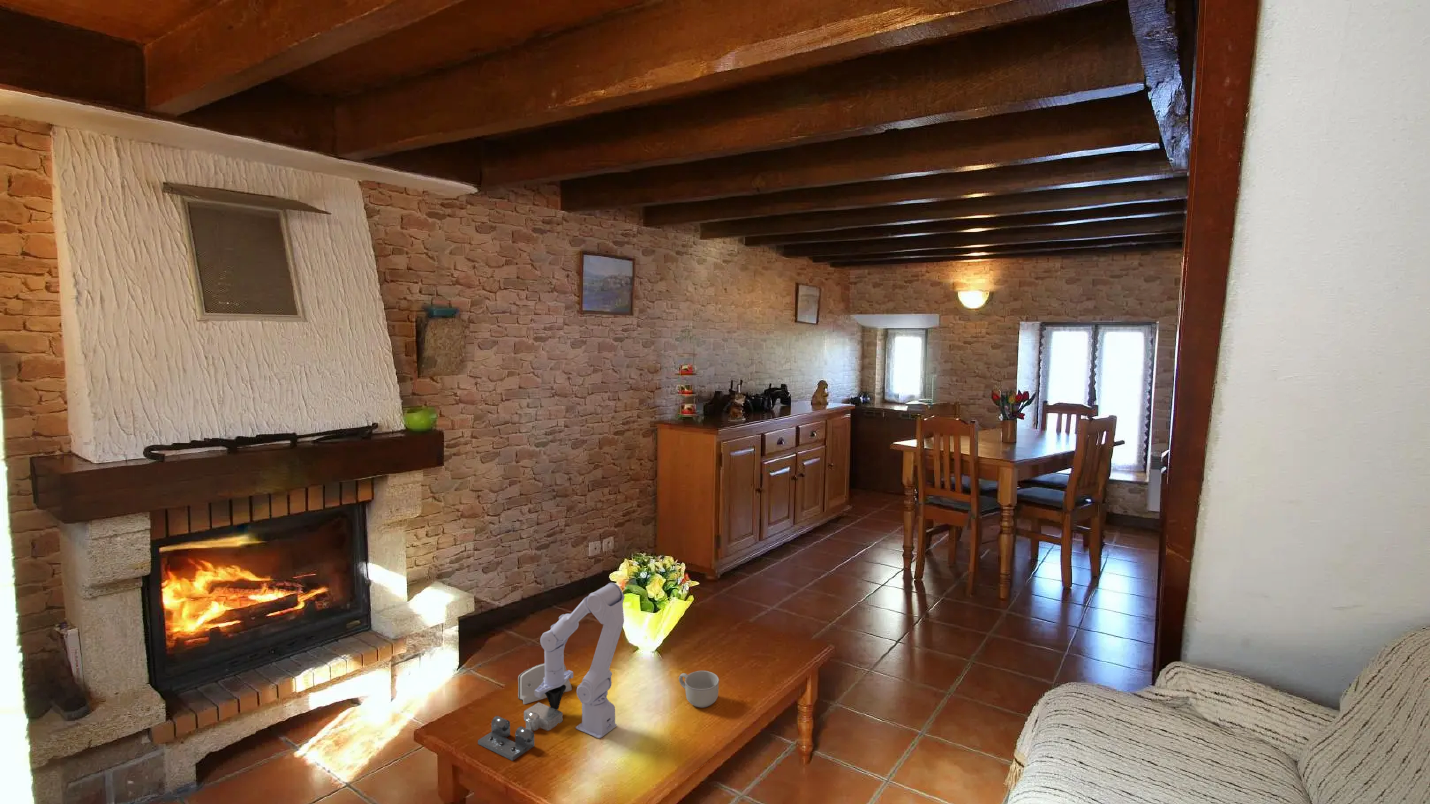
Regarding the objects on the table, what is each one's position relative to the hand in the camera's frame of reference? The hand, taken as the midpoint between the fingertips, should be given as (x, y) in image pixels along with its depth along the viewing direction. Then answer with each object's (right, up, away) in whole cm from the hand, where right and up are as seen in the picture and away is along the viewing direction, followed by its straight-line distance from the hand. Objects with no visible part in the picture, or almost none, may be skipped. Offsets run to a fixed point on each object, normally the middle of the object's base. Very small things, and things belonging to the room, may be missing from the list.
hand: (554, 708), depth 216 cm
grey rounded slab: (-6, 0, +12) cm, 14 cm away
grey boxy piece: (-3, -2, -5) cm, 6 cm away
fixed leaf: (-10, -3, -15) cm, 18 cm away
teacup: (+44, -1, +9) cm, 45 cm away
